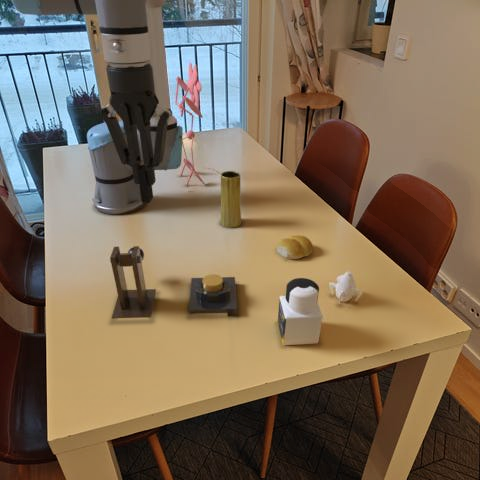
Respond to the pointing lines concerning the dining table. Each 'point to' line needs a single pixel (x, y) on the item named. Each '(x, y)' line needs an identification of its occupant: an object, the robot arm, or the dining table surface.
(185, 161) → the figurine
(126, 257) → the flush lever
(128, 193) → the robot arm
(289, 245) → the bread roll
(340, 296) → the rocket toy
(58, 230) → the dining table surface
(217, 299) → the button base
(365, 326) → the dining table surface
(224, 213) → the vase
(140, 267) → the lever bracket
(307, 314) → the medicine bottle
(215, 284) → the tan short cylinder
